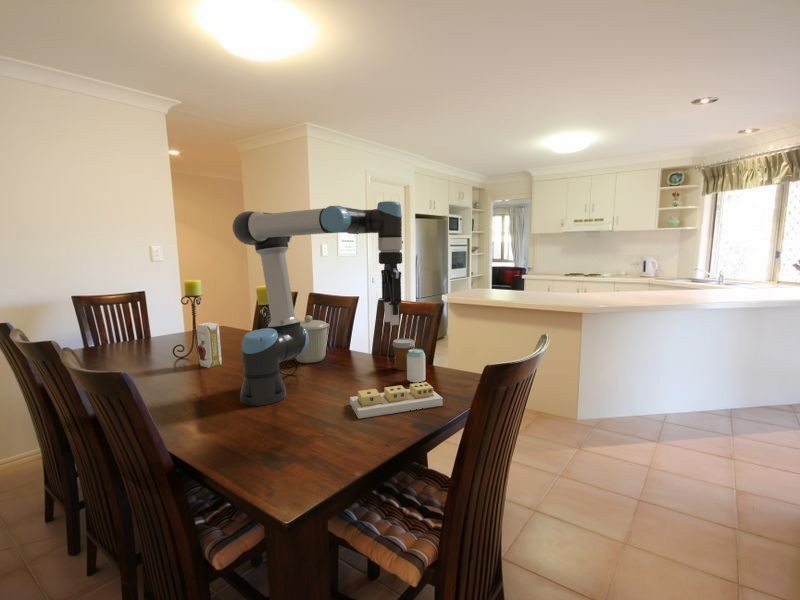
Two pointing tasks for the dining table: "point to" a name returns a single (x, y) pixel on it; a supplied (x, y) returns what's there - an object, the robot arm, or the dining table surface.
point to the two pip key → (395, 394)
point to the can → (416, 365)
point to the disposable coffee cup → (402, 352)
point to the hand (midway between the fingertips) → (391, 322)
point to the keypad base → (395, 405)
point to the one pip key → (369, 397)
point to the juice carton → (209, 344)
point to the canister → (314, 340)
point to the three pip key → (421, 390)
